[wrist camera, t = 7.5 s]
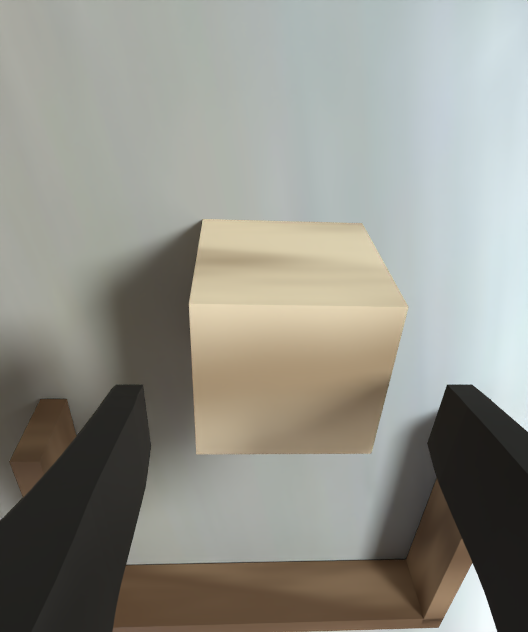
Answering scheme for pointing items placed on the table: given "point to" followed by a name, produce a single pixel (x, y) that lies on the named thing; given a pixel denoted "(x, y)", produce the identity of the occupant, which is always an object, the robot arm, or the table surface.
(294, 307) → the maple block
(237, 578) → the open walnut frame
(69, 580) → the robot arm
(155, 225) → the table surface
